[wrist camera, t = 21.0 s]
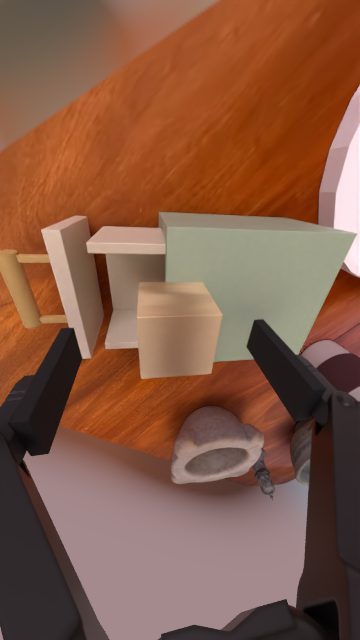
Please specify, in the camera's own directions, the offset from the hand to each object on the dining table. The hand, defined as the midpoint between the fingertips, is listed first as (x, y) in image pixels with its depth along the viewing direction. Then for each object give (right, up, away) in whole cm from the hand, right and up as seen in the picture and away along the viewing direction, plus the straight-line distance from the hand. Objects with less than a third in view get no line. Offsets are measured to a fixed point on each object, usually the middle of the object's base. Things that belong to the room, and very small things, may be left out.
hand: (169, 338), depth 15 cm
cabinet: (+6, +8, +11) cm, 14 cm away
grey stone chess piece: (+19, -30, +38) cm, 52 cm away
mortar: (+6, -20, +29) cm, 36 cm away
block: (0, +2, +2) cm, 3 cm away
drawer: (-6, +7, +8) cm, 12 cm away
